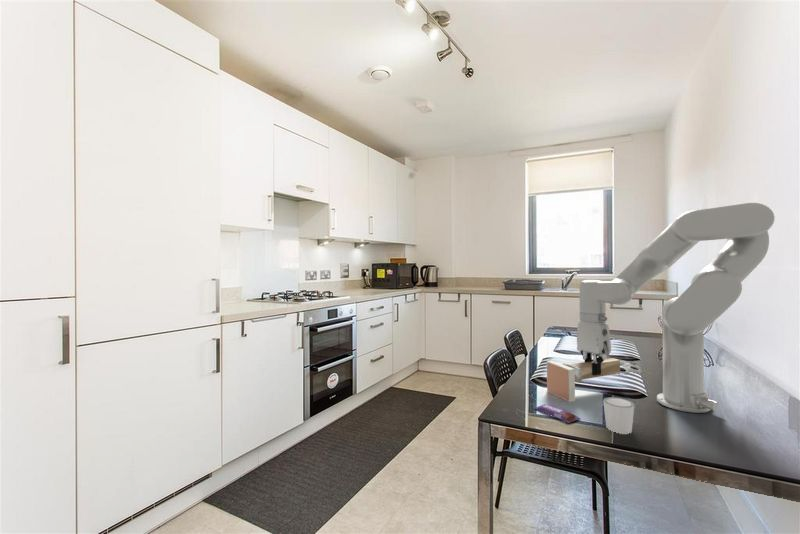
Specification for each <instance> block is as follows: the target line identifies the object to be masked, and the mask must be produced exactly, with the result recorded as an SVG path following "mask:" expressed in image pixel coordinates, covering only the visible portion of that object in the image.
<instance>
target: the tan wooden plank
mask: <svg viewBox="0 0 800 534" xmlns="http://www.w3.org/2000/svg"><path fill="white" fill-rule="evenodd" d="M618 359H619V358H618ZM618 359H617V358H614V357H610V358H609V359H605V360H604V361H603V363H601V375H595V376H594V375H592V363H594V362H593V361H591V362H585V361H583V362H582V361H581V362H575V363H567V362H562V364H563V365H565V366H568V367H571V368H573V369H575V383H578V384H582V383H583V381H582V380H587V379H593V378H600V377H606V376H611V375H621V374H620V371H621V370H620V368H621V365H620V360H621V359H619V360H618Z"/></svg>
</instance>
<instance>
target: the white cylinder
mask: <svg viewBox="0 0 800 534" xmlns="http://www.w3.org/2000/svg"><path fill="white" fill-rule="evenodd" d="M602 403H603V409H604V410H603V411H604V418H605V419H604V420H605V427H606V429H607V428H608V429H609V430H608V429H607V430H608V431H610V430H611V431H610V432H612V431H613V433H614V432H616V433H615V434H618V433H619V435H630V434H632V432H633V422H634V415H635V414H634V412H635V403H633V402H632V401H631V400H629V399H625V398H621V397H614V396H613V397H612V396H611V397H605V398H603V400H602ZM629 433H630V434H629Z"/></svg>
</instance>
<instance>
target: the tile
mask: <svg viewBox="0 0 800 534" xmlns="http://www.w3.org/2000/svg"><path fill="white" fill-rule="evenodd" d="M575 387H576V382H575V369H573V368H571V367H568V366H565V365H563V363H559V362H557V361H554V360H547V361H546V389H547V390H546V391H547V392H548V393H550V394H552V395H555V396H556V397H558V398H561V399H563V400H564V401H566V402H568V403H573V402H576V388H575Z"/></svg>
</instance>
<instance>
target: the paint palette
mask: <svg viewBox="0 0 800 534" xmlns="http://www.w3.org/2000/svg"><path fill="white" fill-rule="evenodd" d="M592 360H593V358H592ZM618 360H620V366H622V367H620V373H630V372H633V373H632V374H641V373H642V370H641V366H639V365H638V364H636V363H633V362H627V361H626V360H623V359H619V358H618ZM622 370H625V371H622ZM630 374H631V373H630Z"/></svg>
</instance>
